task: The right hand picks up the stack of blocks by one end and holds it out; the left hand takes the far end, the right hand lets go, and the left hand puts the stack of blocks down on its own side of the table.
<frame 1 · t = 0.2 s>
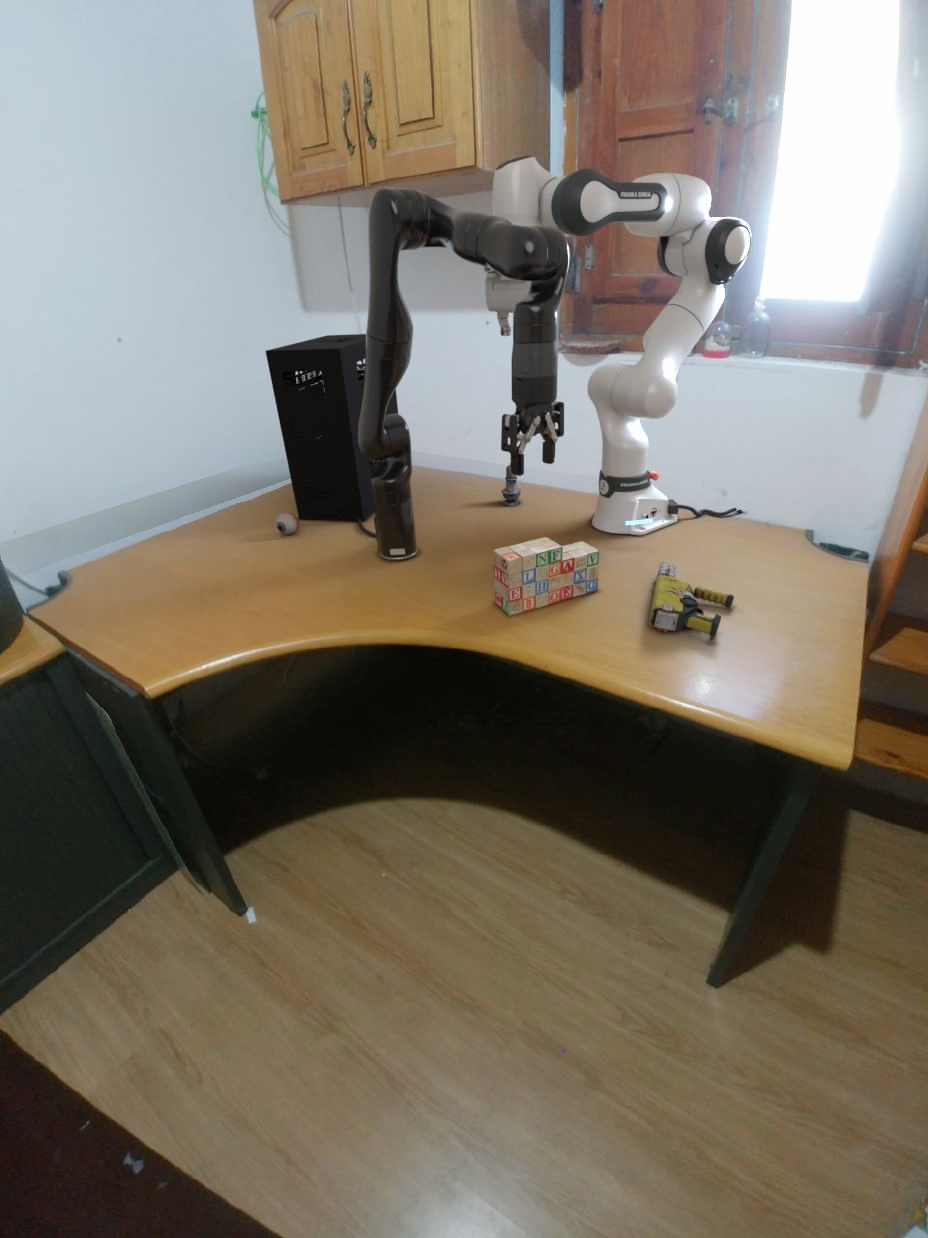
left hand: (533, 468, 107), 29 cm above the table, tool pointing down, fingers open, 8 cm apart
right hand: (516, 337, 125), 48 cm above the table, tool pointing down, fingers open, 8 cm apart
eyeball: (289, 534, 165), on the table
grey chess piece: (511, 503, 178), on the table
toy gun: (691, 609, 119), on the table
black computer tower: (355, 499, 189), on the table
stack of blocks: (546, 597, 126), on the table
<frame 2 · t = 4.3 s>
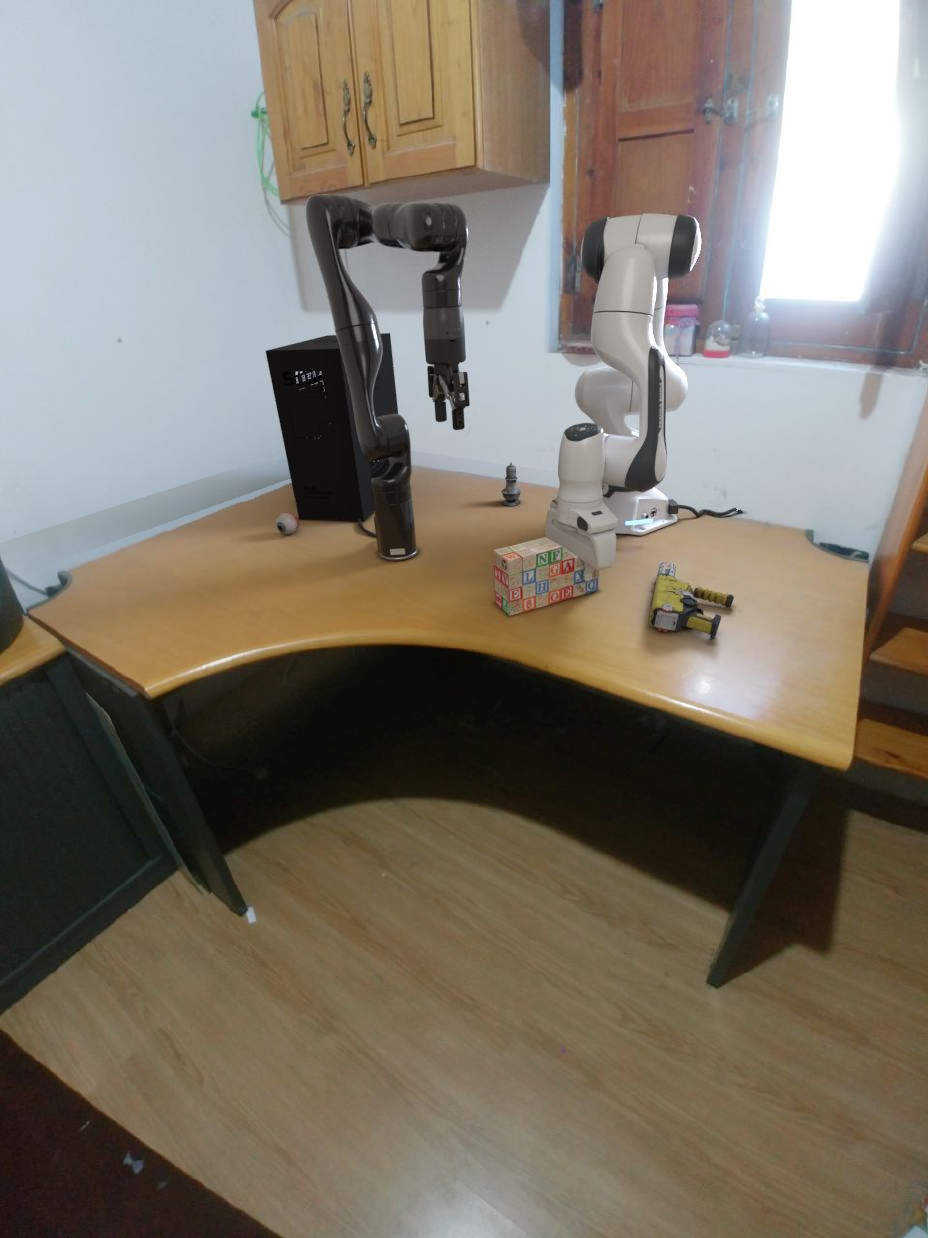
left hand: (449, 425, 118), 34 cm above the table, tool pointing down, fingers open, 8 cm apart
right hand: (576, 572, 127), 4 cm above the table, tool pointing down, fingers closed on stack of blocks, 6 cm apart
stack of blocks: (546, 597, 126), on the table, touching right hand
everything else where it was.
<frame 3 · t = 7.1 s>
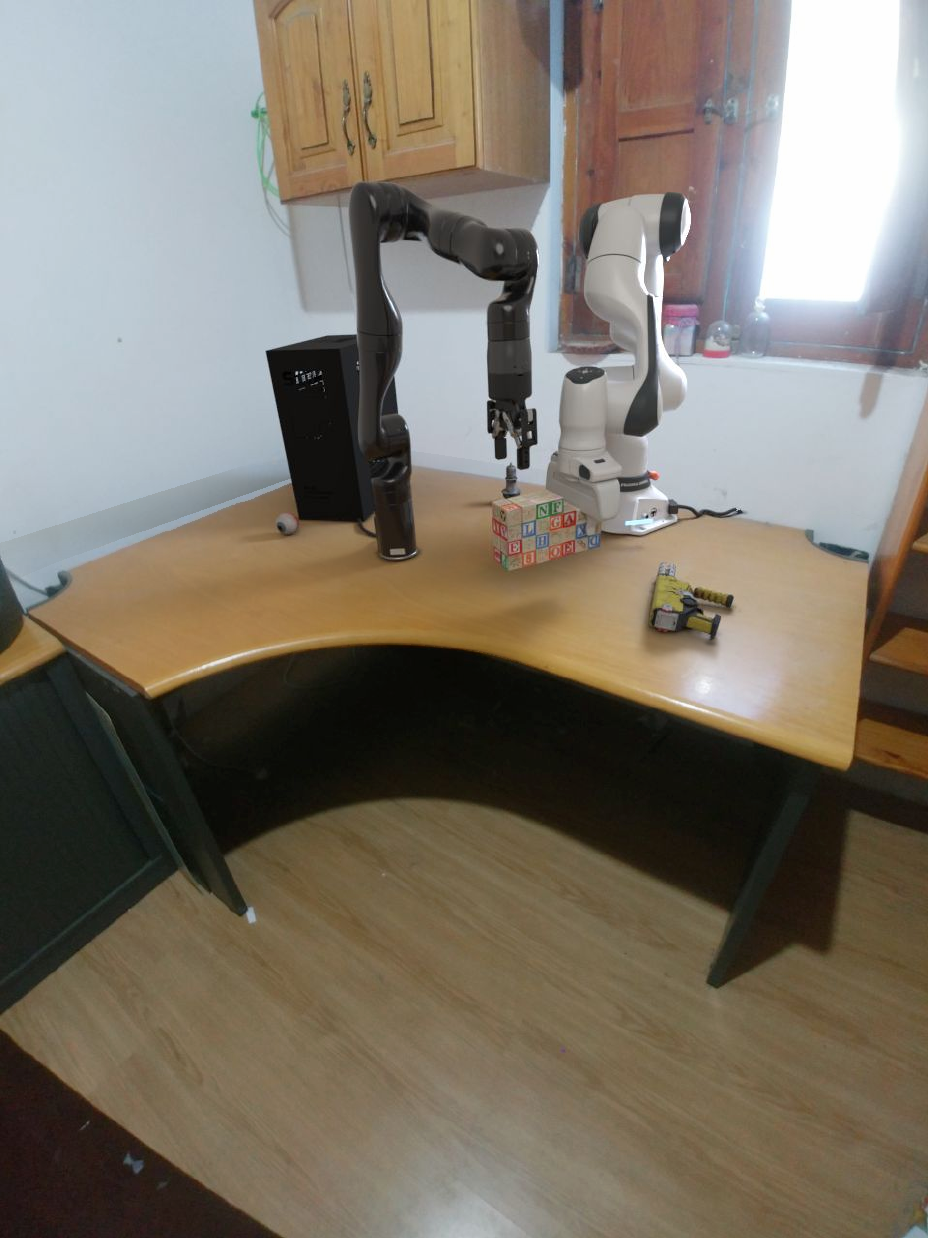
left hand: (511, 463, 110), 29 cm above the table, tool pointing down, fingers open, 8 cm apart
right hand: (578, 528, 122), 14 cm above the table, tool pointing down, fingers closed on stack of blocks, 6 cm apart
stack of blocks: (547, 553, 122), point 10 cm above the table, touching right hand
everything else where it was.
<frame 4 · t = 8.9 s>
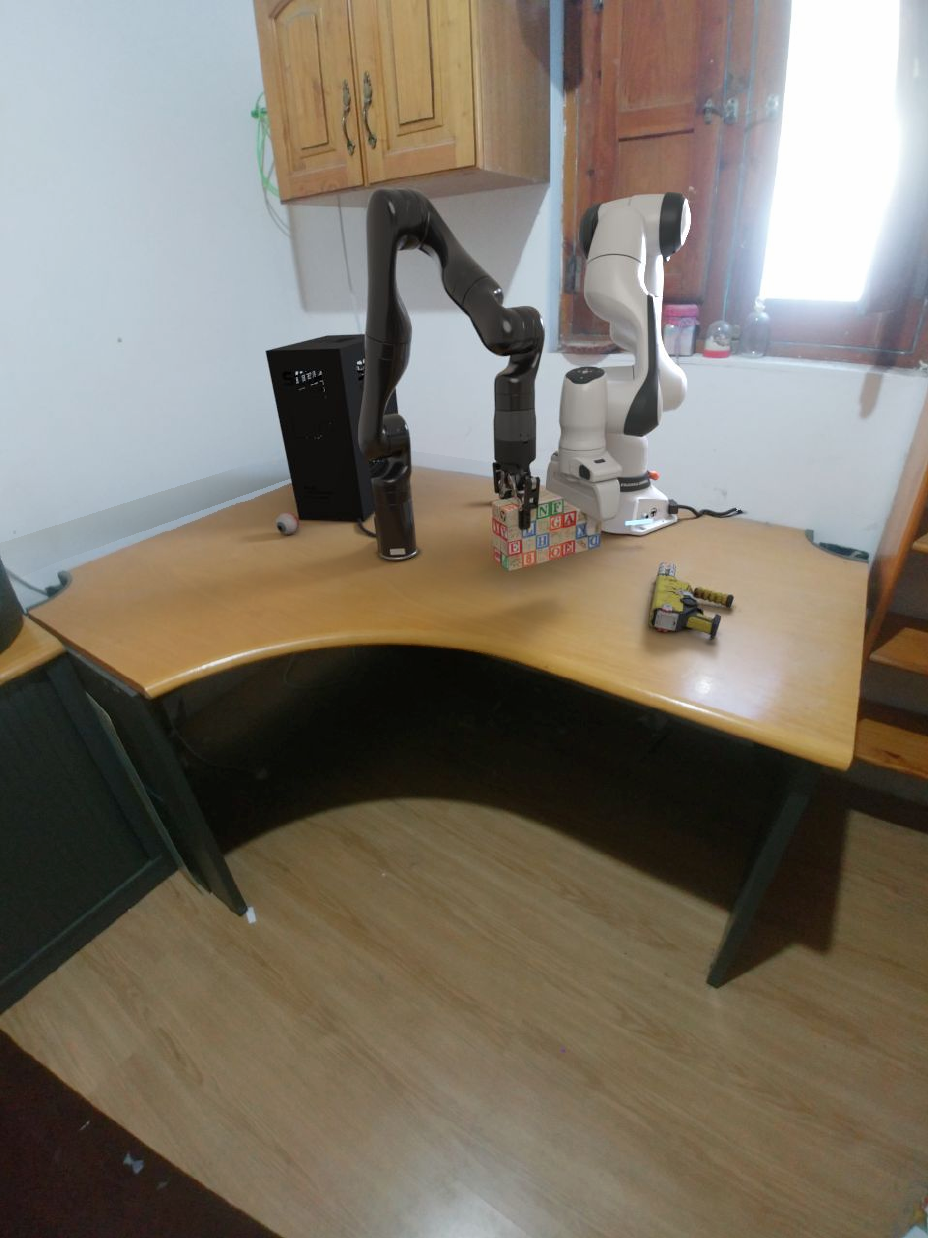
left hand: (515, 522, 115), 18 cm above the table, tool pointing down, fingers closed on stack of blocks, 6 cm apart
right hand: (578, 528, 122), 14 cm above the table, tool pointing down, fingers closed on stack of blocks, 6 cm apart
stack of blocks: (547, 553, 122), point 10 cm above the table, touching right hand, left hand
everything else where it was.
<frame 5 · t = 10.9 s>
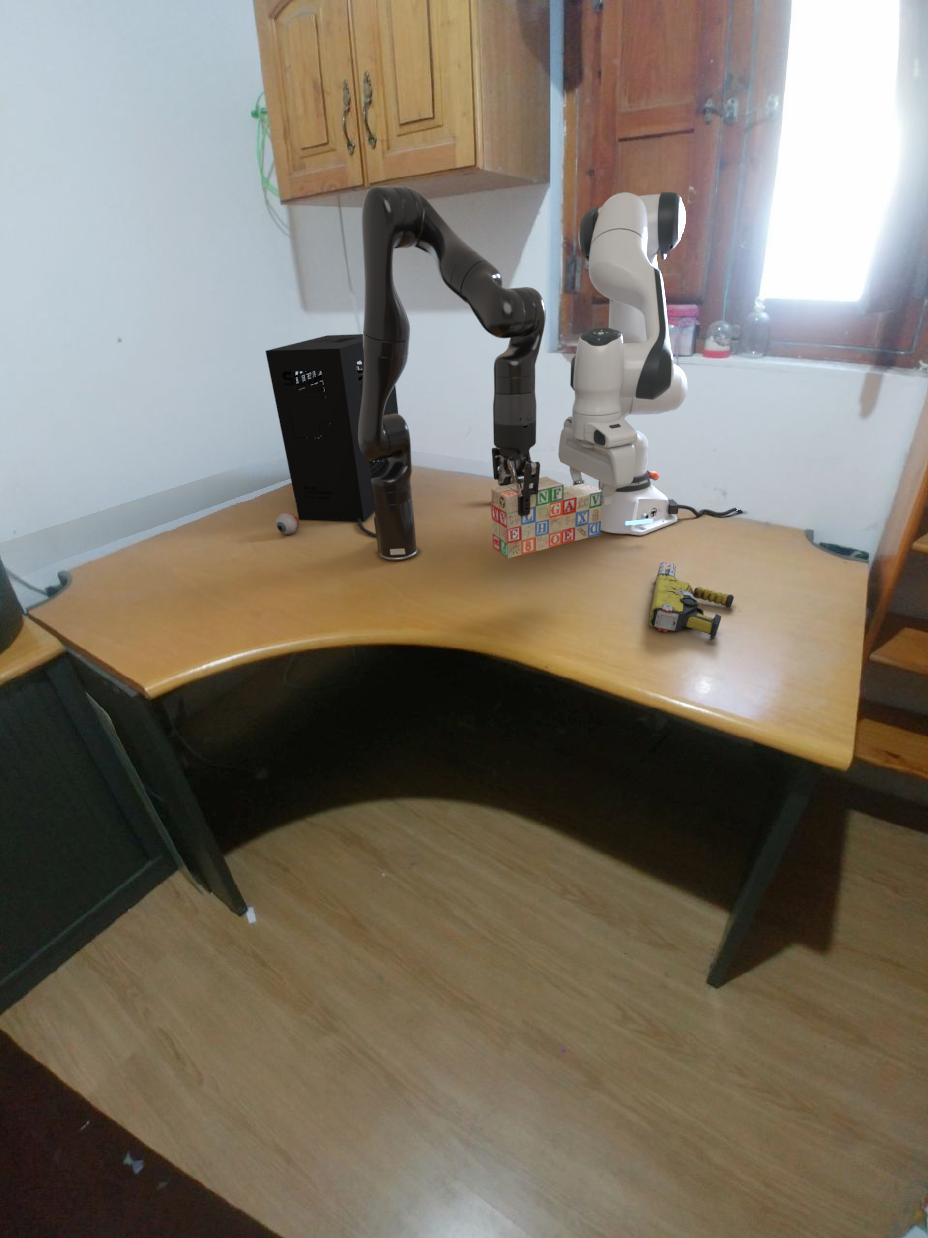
left hand: (515, 509, 114), 21 cm above the table, tool pointing down, fingers closed on stack of blocks, 6 cm apart
right hand: (591, 495, 120), 20 cm above the table, tool pointing down, fingers open, 8 cm apart
stack of blocks: (547, 541, 120), point 13 cm above the table, touching left hand
everything else where it was.
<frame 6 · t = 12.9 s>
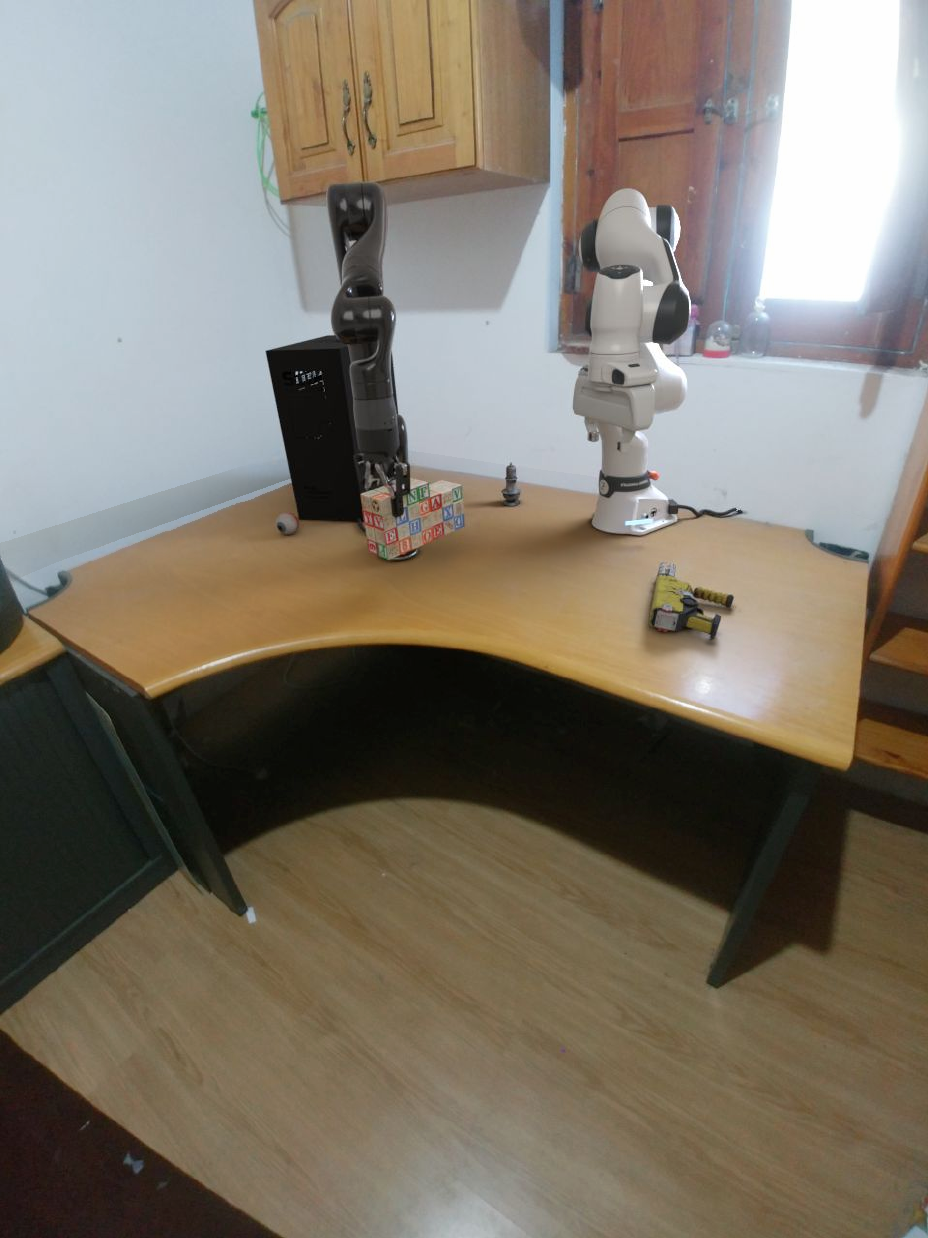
left hand: (386, 511, 116), 21 cm above the table, tool pointing down, fingers closed on stack of blocks, 6 cm apart
right hand: (607, 445, 116), 30 cm above the table, tool pointing down, fingers open, 8 cm apart
stack of blocks: (418, 539, 124), point 13 cm above the table, touching left hand
everything else where it was.
when the left hand's fingers open (10 cm above the table, at t = 17.0 s): stack of blocks drops 2 cm, on the table.
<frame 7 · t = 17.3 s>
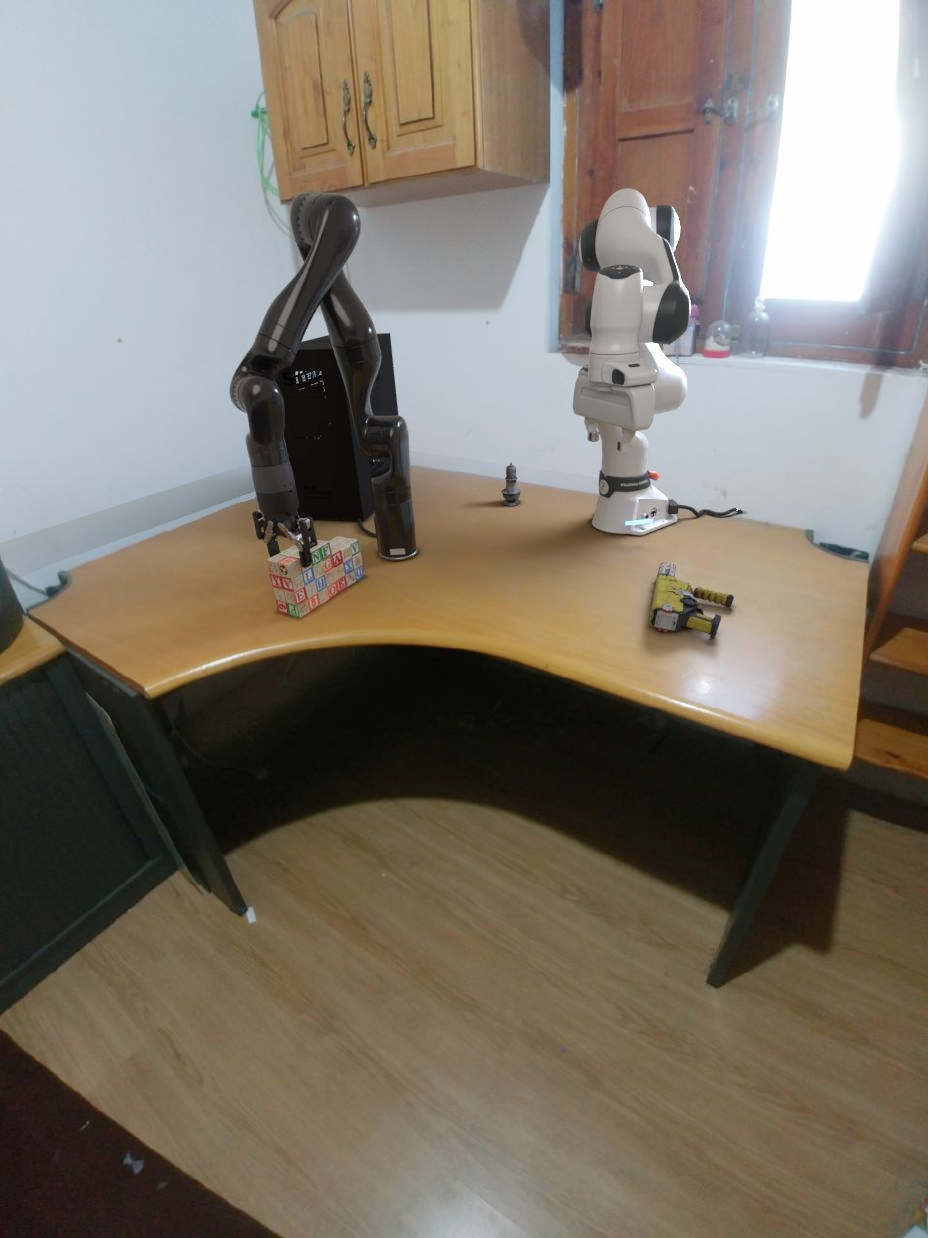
left hand: (291, 562, 123), 10 cm above the table, tool pointing down, fingers open, 8 cm apart
right hand: (607, 445, 116), 30 cm above the table, tool pointing down, fingers open, 8 cm apart
stack of blocks: (323, 593, 133), on the table
everything else where it was.
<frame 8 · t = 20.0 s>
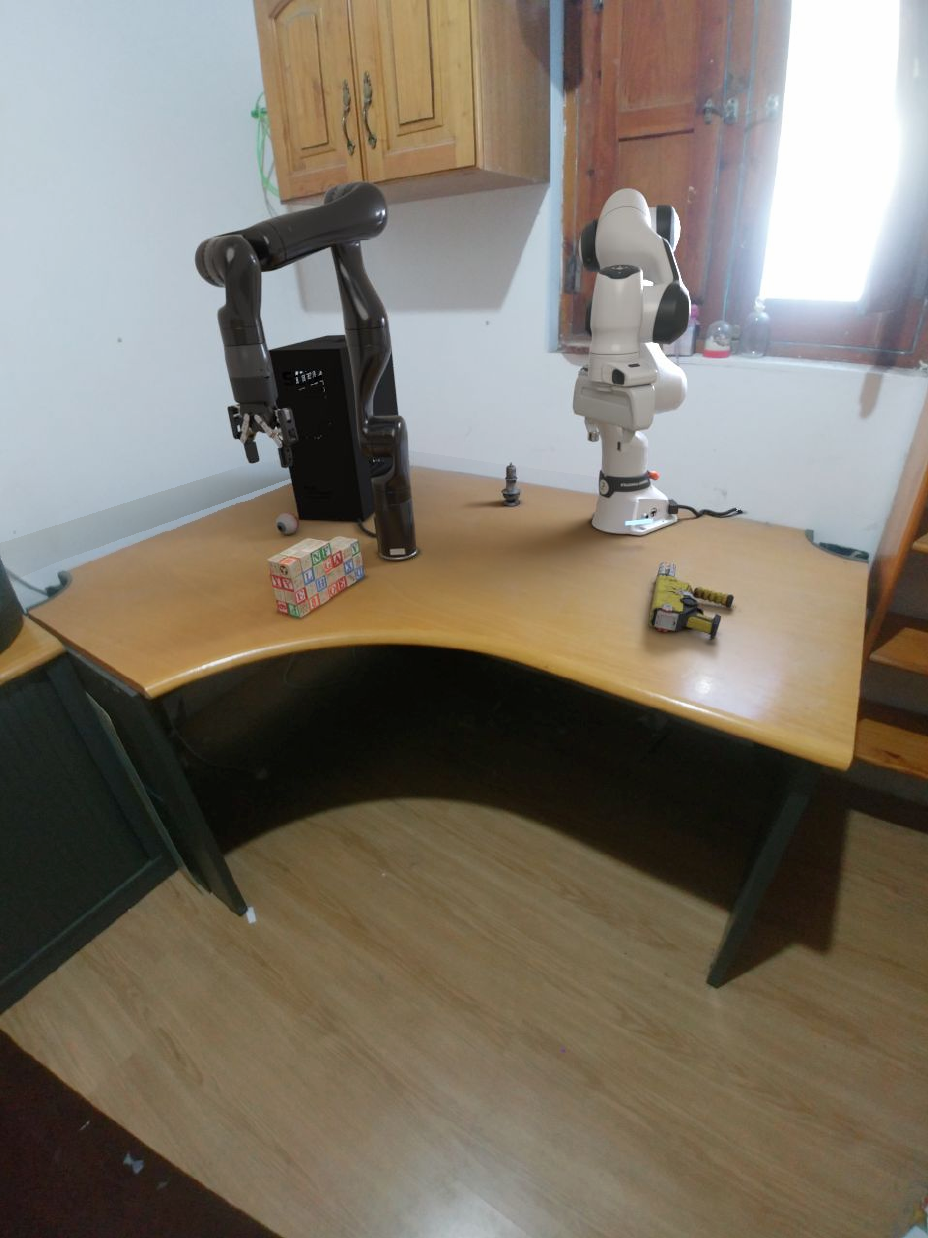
left hand: (270, 464, 113), 31 cm above the table, tool pointing down, fingers open, 8 cm apart
right hand: (607, 445, 116), 30 cm above the table, tool pointing down, fingers open, 8 cm apart
nothing on the table moved.
at the end: stack of blocks inside the target area (7.0 cm from its centre), on the table; the left hand is holding nothing; the right hand is holding nothing; stack of blocks at rest at the end (0.0 cm/s) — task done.
